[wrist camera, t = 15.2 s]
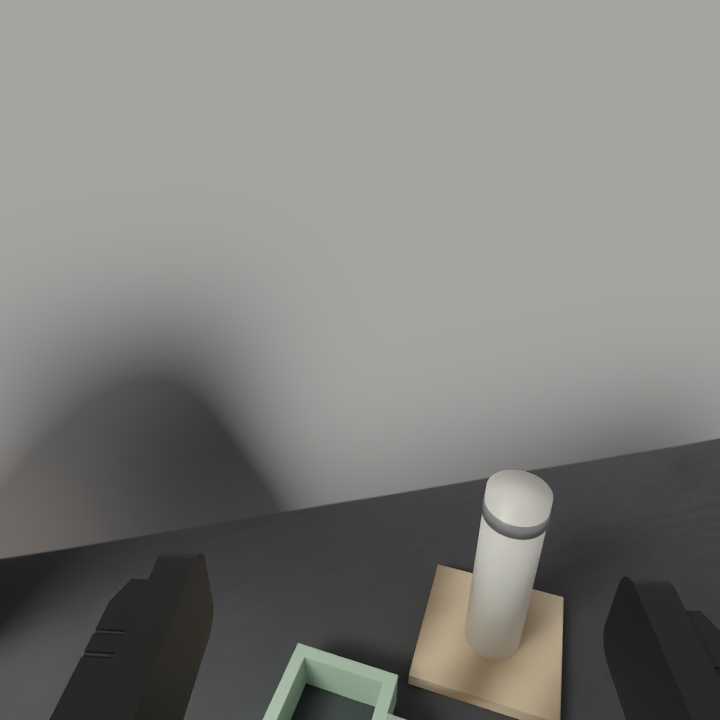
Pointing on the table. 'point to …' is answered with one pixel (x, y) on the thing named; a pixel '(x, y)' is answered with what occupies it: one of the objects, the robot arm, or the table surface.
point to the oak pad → (484, 676)
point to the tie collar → (333, 683)
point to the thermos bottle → (506, 561)
